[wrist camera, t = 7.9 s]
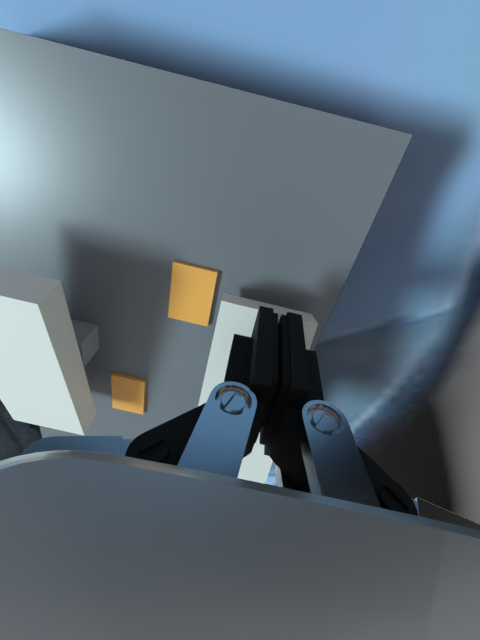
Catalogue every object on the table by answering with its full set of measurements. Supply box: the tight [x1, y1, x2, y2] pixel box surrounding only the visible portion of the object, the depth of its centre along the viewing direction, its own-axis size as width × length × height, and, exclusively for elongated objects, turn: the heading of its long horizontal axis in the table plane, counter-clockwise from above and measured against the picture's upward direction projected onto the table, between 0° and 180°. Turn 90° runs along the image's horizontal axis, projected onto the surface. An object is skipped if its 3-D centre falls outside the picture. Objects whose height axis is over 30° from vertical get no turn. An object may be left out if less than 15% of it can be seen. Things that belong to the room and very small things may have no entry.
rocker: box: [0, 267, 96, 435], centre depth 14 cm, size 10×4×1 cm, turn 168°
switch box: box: [0, 28, 412, 439], centre depth 18 cm, size 24×16×6 cm, turn 168°
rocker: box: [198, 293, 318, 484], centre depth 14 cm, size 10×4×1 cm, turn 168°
